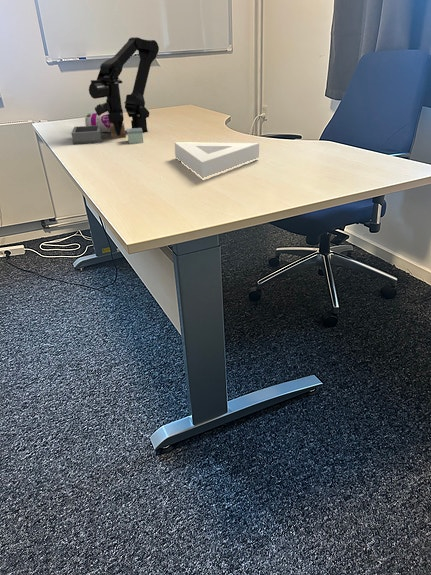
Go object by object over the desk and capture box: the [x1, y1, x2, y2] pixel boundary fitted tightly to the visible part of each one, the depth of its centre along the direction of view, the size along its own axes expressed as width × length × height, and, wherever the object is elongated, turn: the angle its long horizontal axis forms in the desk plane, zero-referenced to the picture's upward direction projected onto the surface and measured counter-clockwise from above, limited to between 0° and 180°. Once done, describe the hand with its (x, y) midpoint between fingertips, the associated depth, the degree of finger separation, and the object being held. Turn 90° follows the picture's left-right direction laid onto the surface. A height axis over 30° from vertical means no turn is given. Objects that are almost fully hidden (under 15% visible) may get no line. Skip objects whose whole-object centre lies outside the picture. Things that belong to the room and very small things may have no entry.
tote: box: [71, 125, 103, 145], centre depth 185 cm, size 11×15×4 cm
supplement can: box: [84, 112, 113, 133], centre depth 199 cm, size 8×8×15 cm
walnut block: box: [110, 122, 127, 139], centre depth 190 cm, size 6×6×5 cm
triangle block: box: [173, 141, 260, 178], centre depth 146 cm, size 30×26×6 cm
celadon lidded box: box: [126, 127, 144, 145], centre depth 180 cm, size 6×6×5 cm
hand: (118, 134), depth 191 cm, fingers closed on walnut block, 6 cm apart
